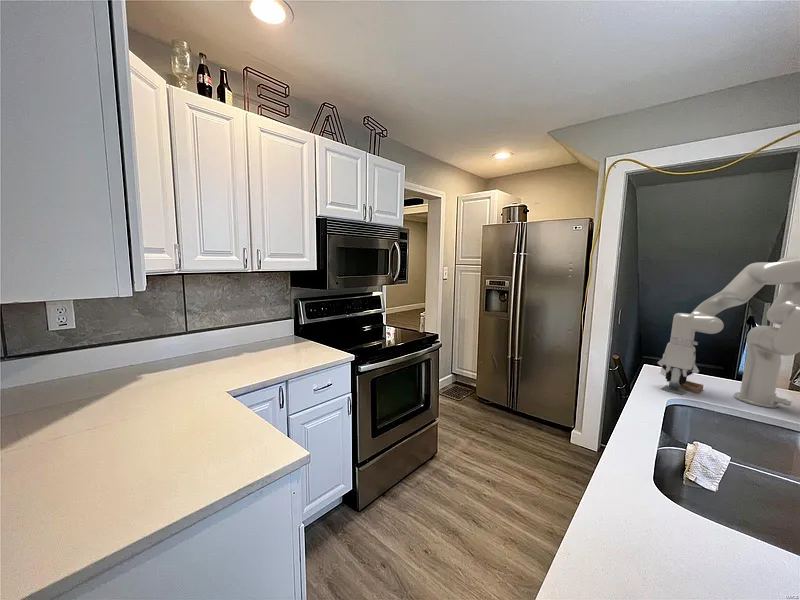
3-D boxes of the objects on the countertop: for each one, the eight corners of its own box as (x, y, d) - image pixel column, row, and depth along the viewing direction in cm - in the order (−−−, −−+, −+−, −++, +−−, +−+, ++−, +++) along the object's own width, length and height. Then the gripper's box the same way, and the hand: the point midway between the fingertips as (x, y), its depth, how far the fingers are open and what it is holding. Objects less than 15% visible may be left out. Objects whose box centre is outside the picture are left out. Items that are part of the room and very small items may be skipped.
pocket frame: (702, 389, 146) (703, 384, 146) (698, 393, 141) (699, 388, 141) (678, 383, 153) (679, 378, 152) (673, 387, 147) (674, 382, 147)
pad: (686, 391, 143) (686, 390, 143) (681, 395, 138) (681, 393, 138) (666, 386, 148) (666, 385, 148) (661, 389, 144) (661, 388, 144)
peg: (681, 388, 143) (684, 368, 142) (678, 389, 140) (682, 369, 139) (670, 385, 146) (673, 365, 145) (667, 386, 143) (670, 367, 142)
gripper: (709, 345, 136) (702, 387, 138) (660, 336, 149) (654, 375, 152) (705, 347, 132) (698, 391, 134) (654, 338, 145) (649, 378, 147)
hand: (675, 382), depth 143 cm, fingers closed on peg, 4 cm apart
